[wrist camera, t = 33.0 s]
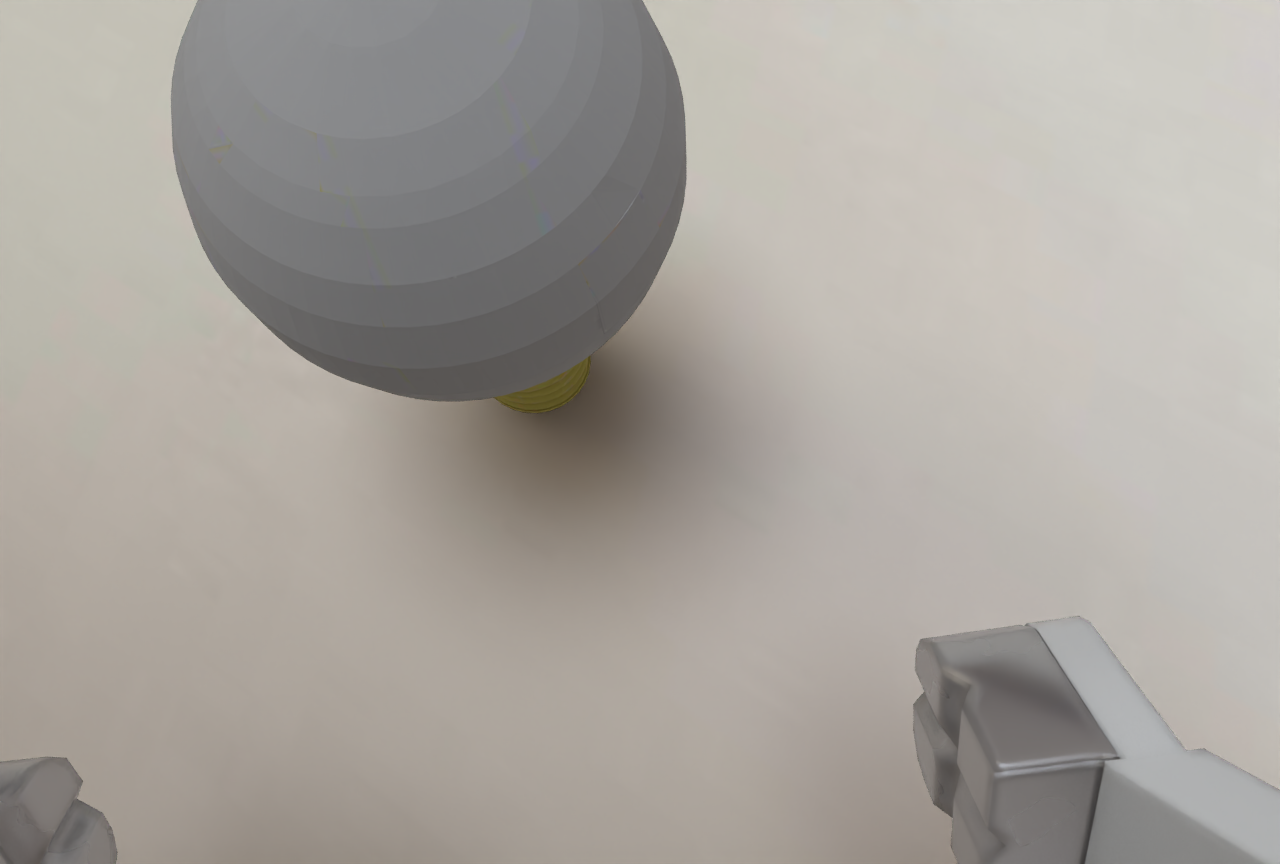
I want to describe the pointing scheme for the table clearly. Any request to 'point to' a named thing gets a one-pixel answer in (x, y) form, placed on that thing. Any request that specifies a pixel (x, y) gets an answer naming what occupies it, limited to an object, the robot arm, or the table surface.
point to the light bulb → (433, 182)
